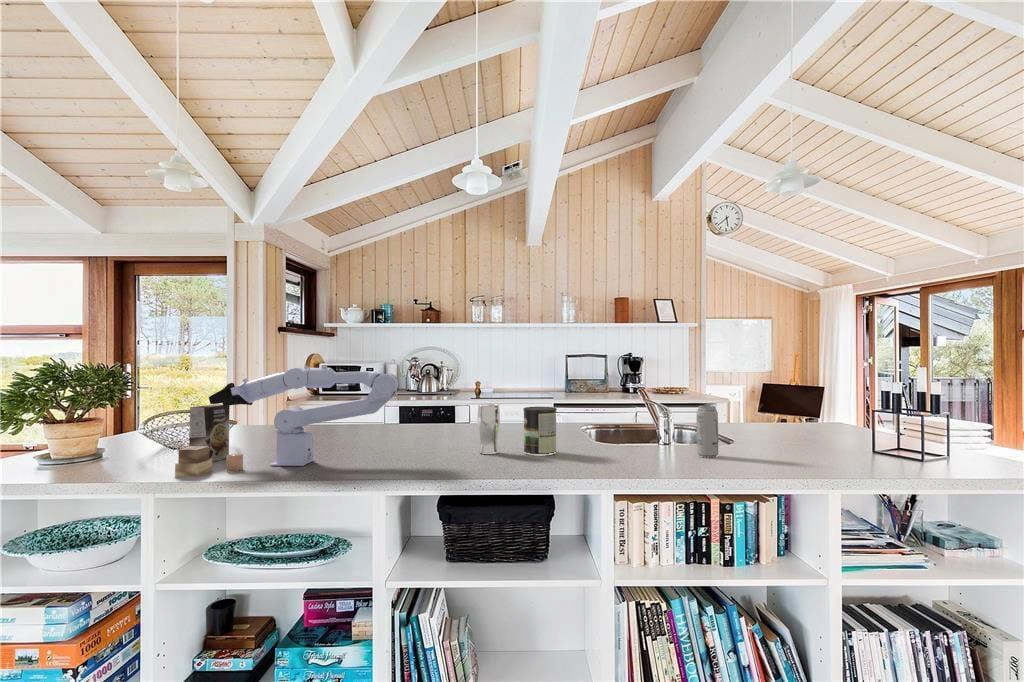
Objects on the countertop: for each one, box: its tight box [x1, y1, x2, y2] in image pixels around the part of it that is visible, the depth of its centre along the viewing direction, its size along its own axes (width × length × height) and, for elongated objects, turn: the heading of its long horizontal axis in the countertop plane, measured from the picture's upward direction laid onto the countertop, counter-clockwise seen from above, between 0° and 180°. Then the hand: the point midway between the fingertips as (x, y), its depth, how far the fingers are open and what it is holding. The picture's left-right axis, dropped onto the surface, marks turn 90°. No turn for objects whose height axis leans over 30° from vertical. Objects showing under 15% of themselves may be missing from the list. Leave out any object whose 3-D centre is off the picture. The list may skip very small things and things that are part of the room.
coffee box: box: [188, 404, 231, 463], centre depth 160 cm, size 9×6×16 cm
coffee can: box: [522, 406, 557, 454], centre depth 170 cm, size 10×10×14 cm
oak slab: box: [174, 459, 213, 478], centre depth 142 cm, size 6×6×4 cm
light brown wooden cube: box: [225, 453, 244, 472], centre depth 147 cm, size 4×4×4 cm
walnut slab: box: [177, 446, 209, 463], centre depth 142 cm, size 5×5×4 cm
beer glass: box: [477, 403, 501, 453], centre depth 171 cm, size 7×7×15 cm
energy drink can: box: [696, 405, 719, 458], centre depth 163 cm, size 6×6×15 cm
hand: (216, 401), depth 153 cm, fingers open, 7 cm apart
